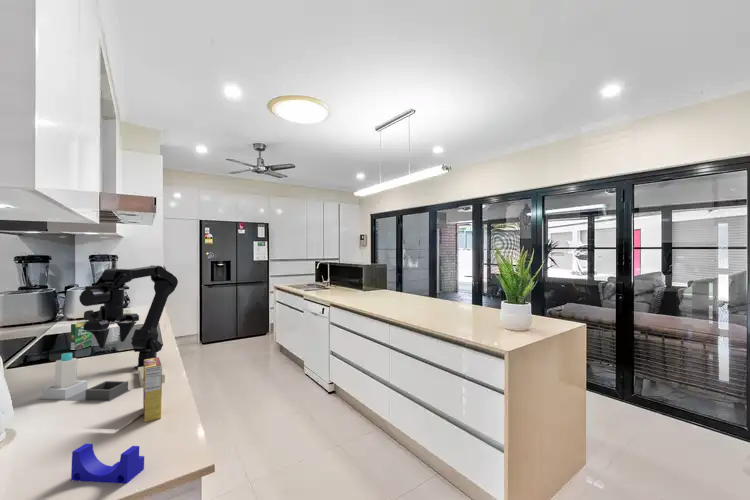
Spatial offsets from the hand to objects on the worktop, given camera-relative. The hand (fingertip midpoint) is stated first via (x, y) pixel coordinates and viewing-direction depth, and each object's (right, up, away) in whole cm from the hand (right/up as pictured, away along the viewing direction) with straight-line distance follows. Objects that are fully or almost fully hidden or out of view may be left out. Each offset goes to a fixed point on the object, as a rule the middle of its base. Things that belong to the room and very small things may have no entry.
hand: (112, 344), depth 120 cm
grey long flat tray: (+4, -13, -15) cm, 20 cm away
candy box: (+32, -13, -26) cm, 43 cm away
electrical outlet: (+13, -14, +1) cm, 19 cm away
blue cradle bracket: (+41, -13, -52) cm, 68 cm away
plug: (-3, -12, -15) cm, 19 cm away
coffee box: (-47, -14, +38) cm, 62 cm away
